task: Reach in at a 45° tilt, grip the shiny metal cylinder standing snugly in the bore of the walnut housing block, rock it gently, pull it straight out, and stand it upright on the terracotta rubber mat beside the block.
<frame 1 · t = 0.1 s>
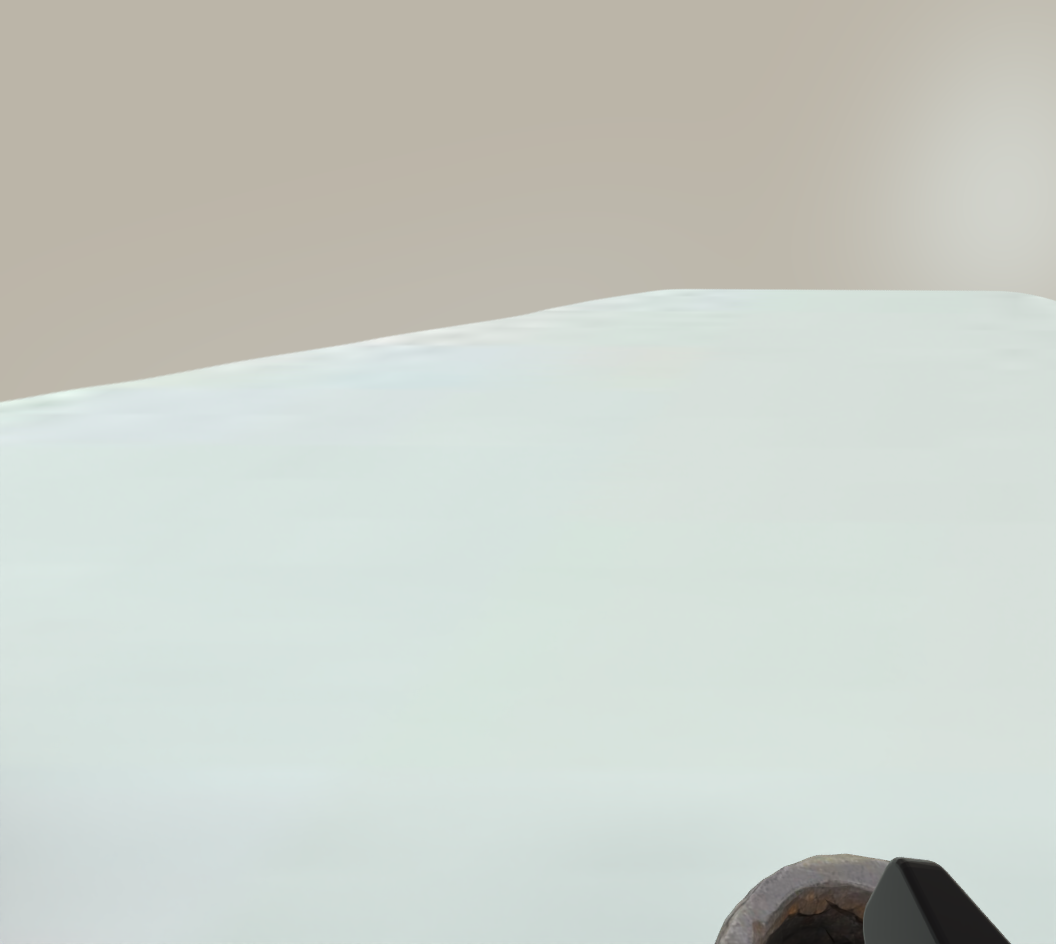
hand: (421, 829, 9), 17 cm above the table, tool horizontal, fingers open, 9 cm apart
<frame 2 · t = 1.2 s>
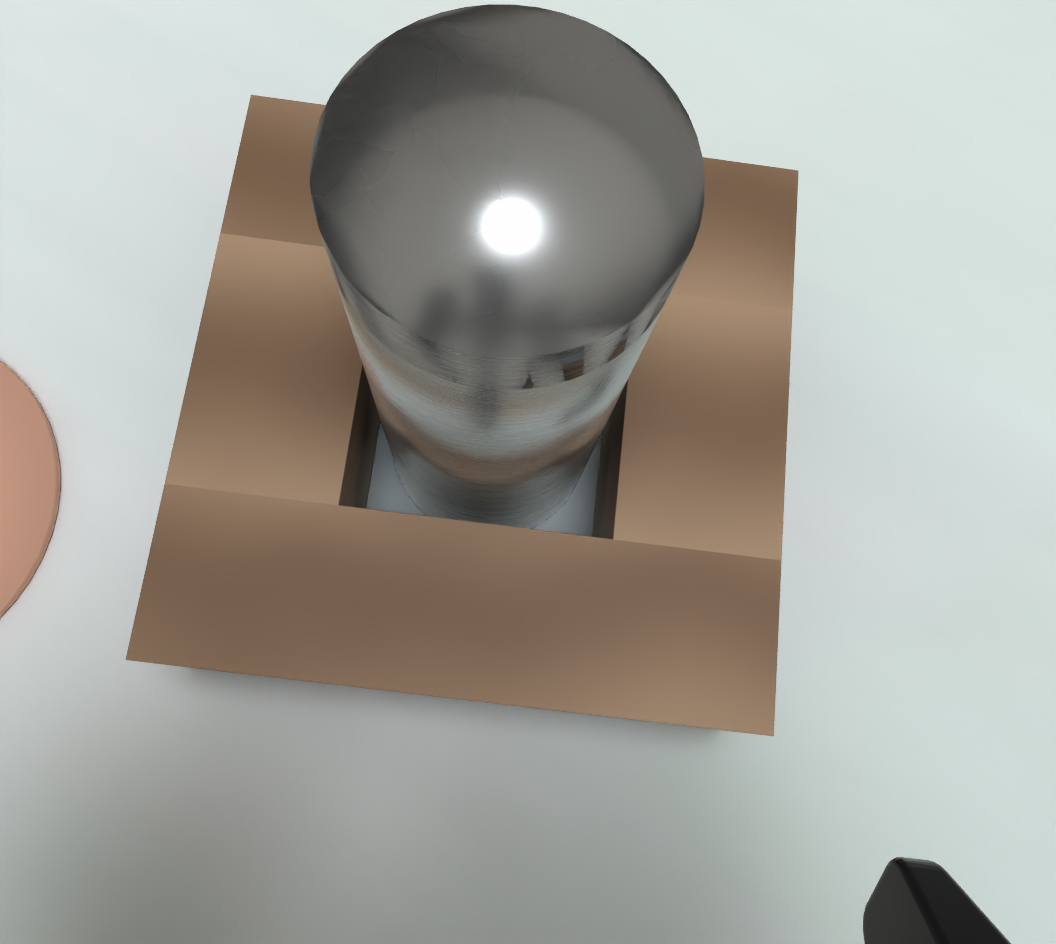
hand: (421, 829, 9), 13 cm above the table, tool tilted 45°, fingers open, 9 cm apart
shiny metal cylinder: (496, 354, 17), in the housing
housing: (489, 442, 23), on the table
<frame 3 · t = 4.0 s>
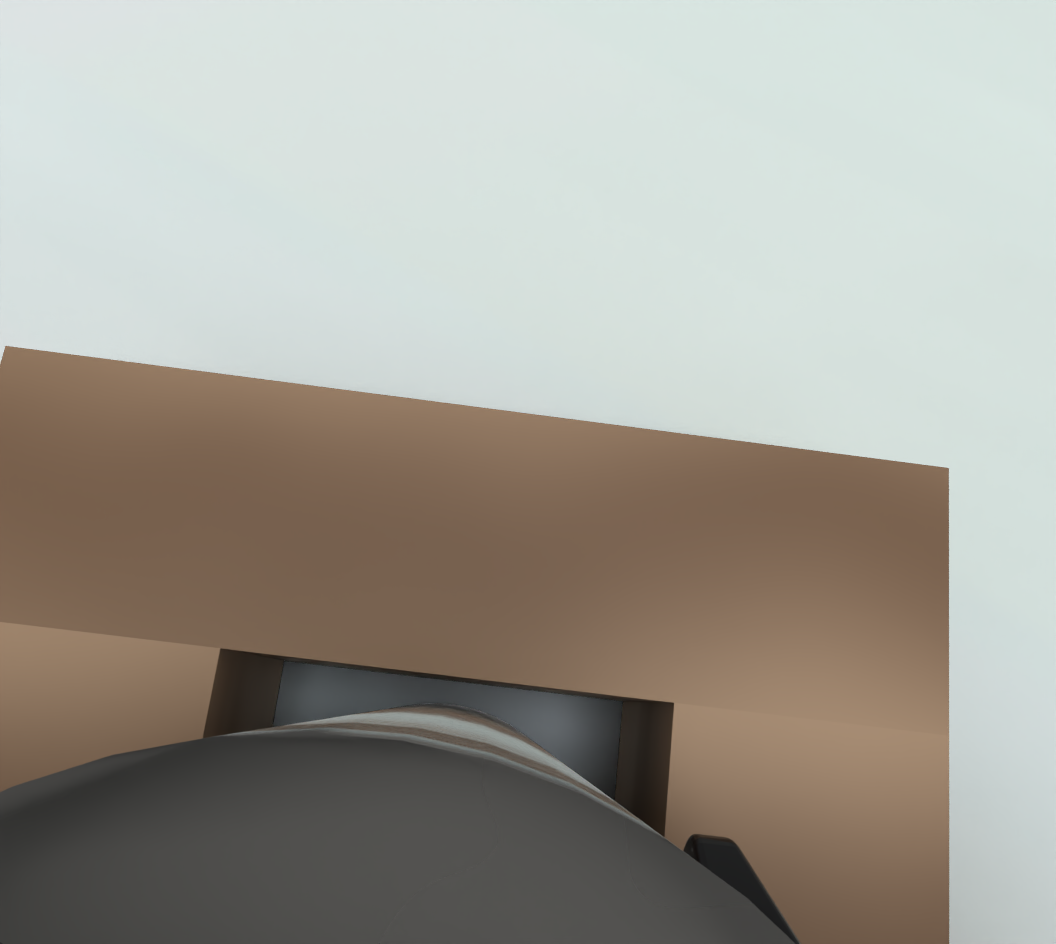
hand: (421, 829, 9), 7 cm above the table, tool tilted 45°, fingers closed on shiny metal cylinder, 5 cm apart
housing: (430, 863, 15), on the table
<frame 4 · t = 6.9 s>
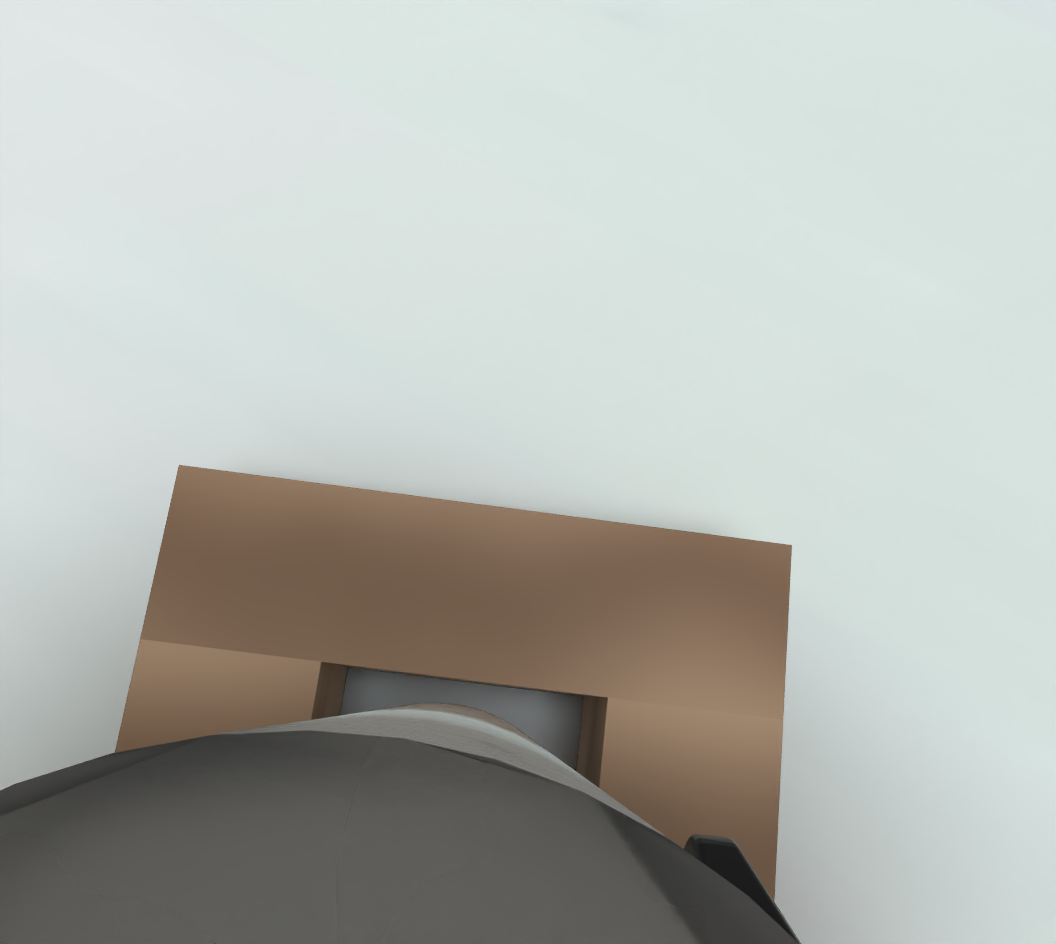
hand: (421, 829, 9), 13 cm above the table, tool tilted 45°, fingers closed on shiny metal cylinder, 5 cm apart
housing: (449, 807, 21), on the table
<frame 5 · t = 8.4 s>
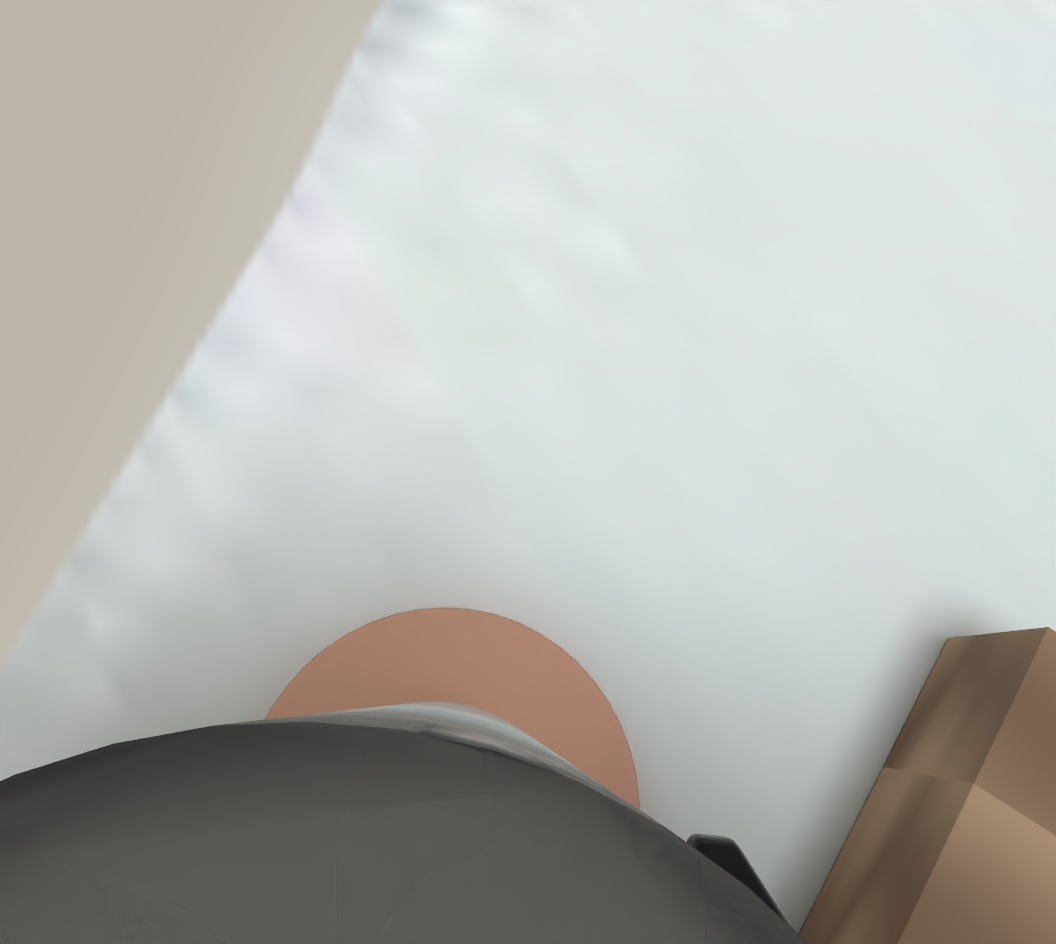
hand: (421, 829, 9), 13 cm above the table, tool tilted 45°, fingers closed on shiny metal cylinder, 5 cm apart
mat: (442, 806, 21), on the table
when the fingers open (8 cm above the table, at t = 9.8 s): shiny metal cylinder stays where it is, resting on mat.
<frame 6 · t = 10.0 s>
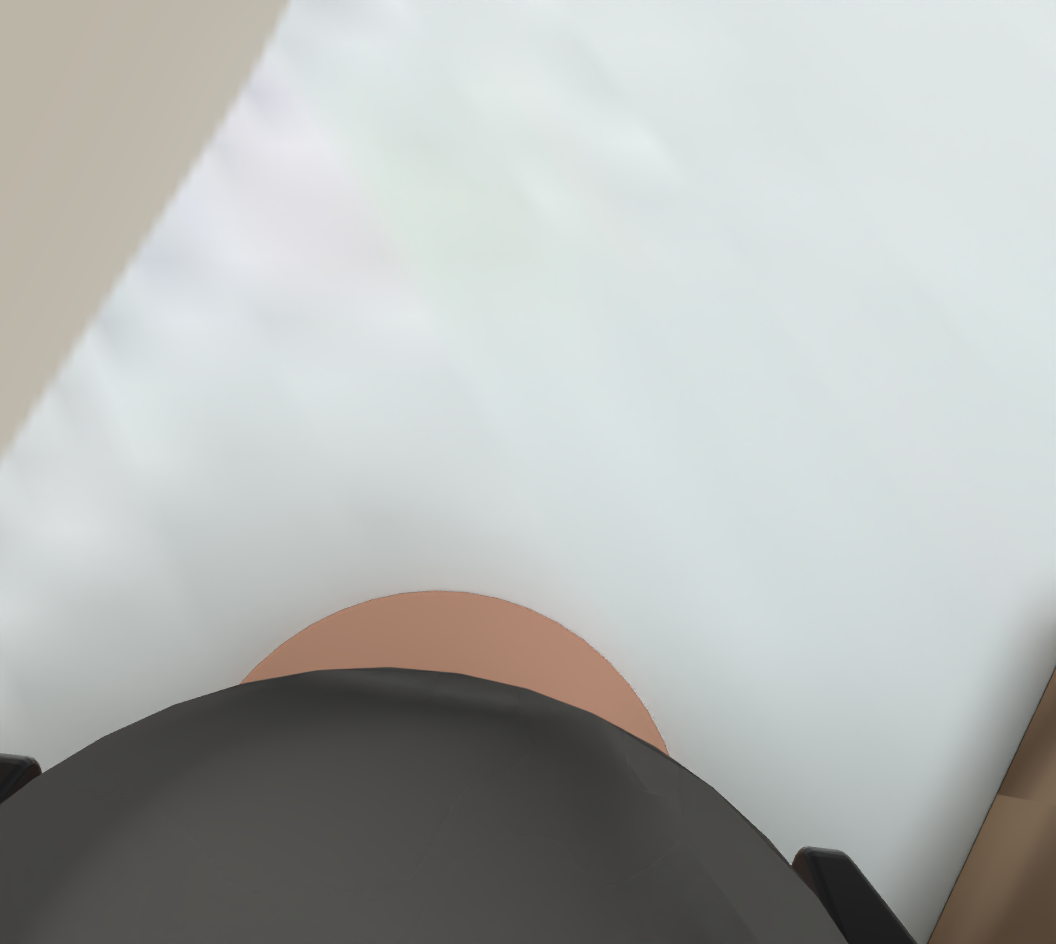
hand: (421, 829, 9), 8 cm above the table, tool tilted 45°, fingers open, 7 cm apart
shiny metal cylinder: (417, 940, 10), on the mat
mat: (433, 846, 16), on the table
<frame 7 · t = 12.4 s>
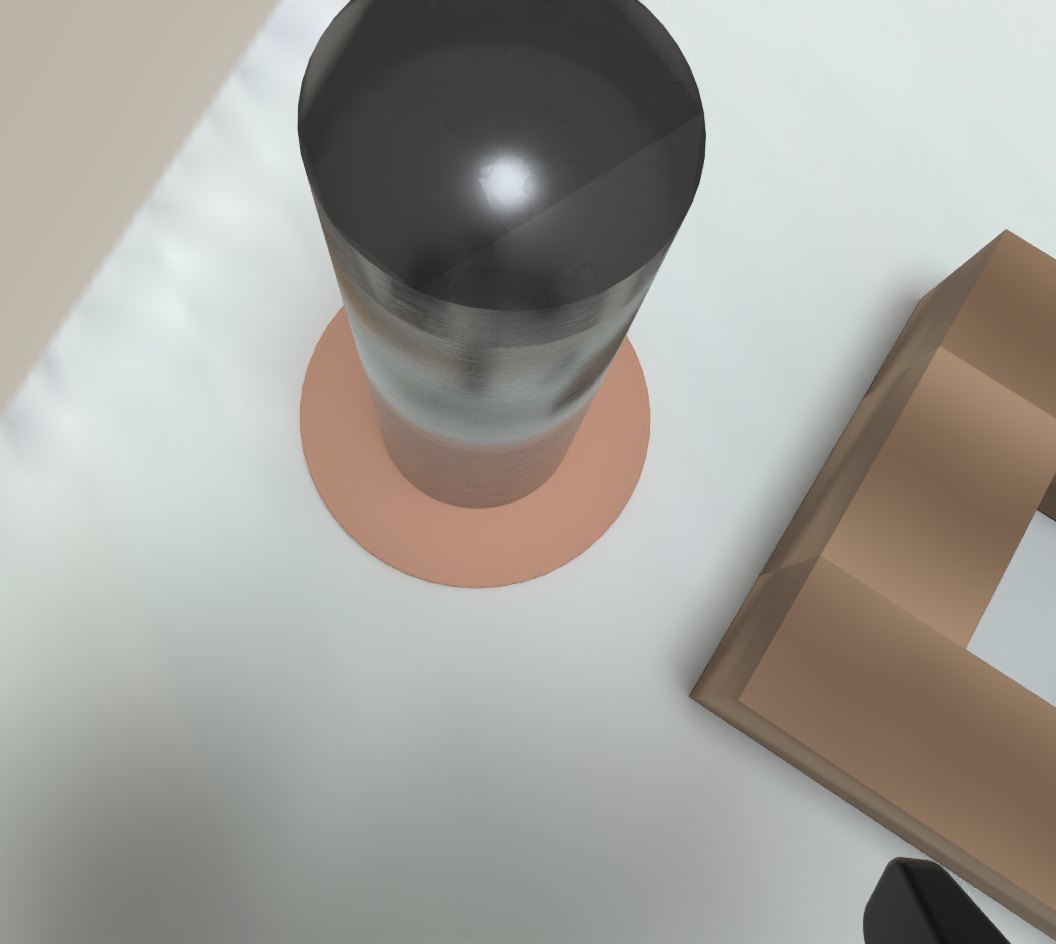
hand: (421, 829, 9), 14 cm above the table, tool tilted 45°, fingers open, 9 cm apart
shiny metal cylinder: (486, 318, 17), on the mat
mat: (477, 415, 24), on the table
housing: (1025, 621, 23), on the table
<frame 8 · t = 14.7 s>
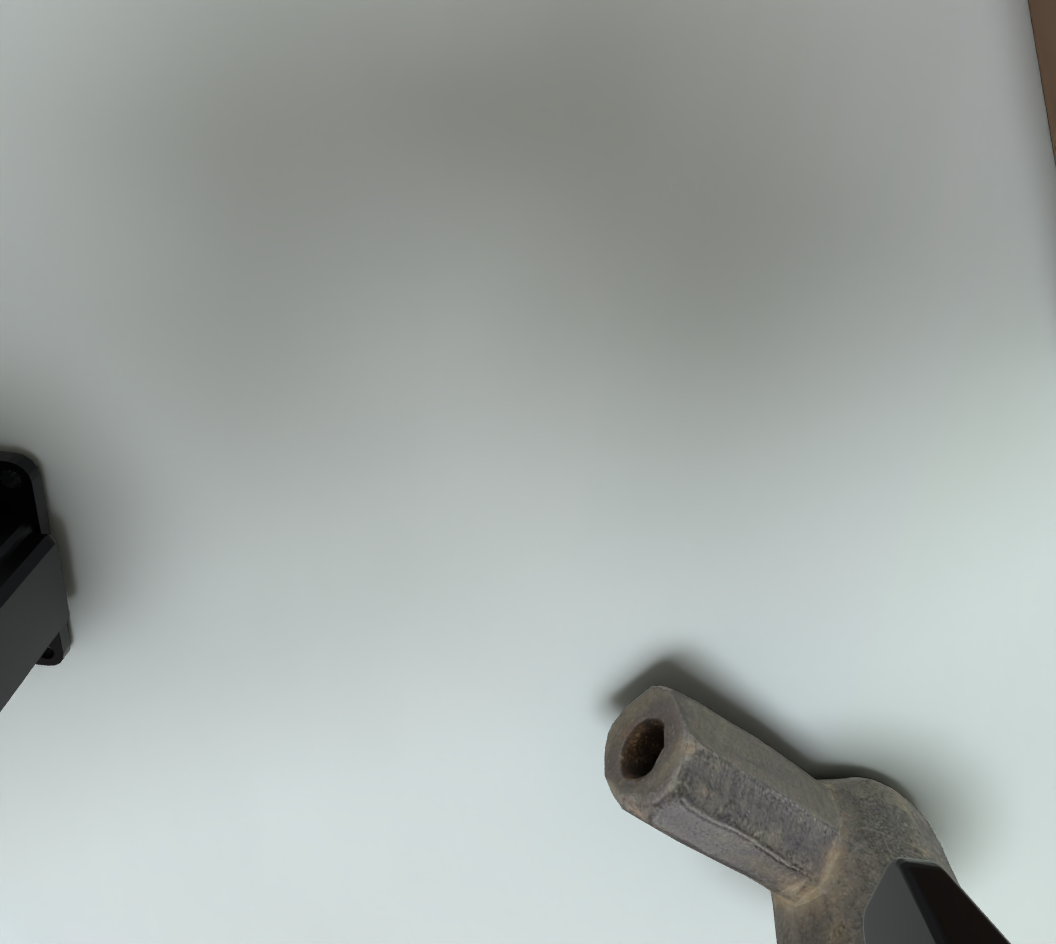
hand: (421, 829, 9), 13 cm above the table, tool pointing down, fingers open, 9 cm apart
pipe: (783, 779, 27), on the table
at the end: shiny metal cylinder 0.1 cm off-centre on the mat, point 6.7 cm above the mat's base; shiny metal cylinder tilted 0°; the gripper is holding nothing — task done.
